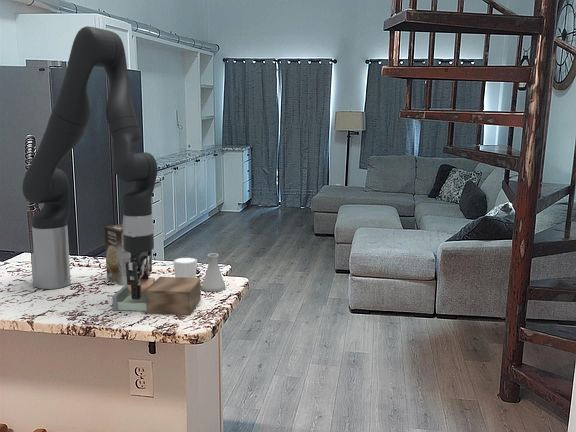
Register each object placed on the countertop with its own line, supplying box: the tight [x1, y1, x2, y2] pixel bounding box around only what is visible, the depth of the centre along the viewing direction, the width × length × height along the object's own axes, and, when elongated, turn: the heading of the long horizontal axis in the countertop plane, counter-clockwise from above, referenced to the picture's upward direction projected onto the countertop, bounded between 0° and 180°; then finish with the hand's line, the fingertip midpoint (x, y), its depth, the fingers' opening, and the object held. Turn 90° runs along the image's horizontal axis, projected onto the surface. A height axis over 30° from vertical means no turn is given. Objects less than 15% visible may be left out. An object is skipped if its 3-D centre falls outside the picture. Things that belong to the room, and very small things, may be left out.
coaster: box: [128, 279, 153, 294], centre depth 149 cm, size 6×6×2 cm
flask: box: [200, 252, 226, 293], centre depth 163 cm, size 7×7×10 cm
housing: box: [146, 276, 202, 316], centre depth 148 cm, size 11×12×6 cm
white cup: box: [172, 257, 198, 278], centre depth 168 cm, size 7×7×7 cm
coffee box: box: [104, 223, 139, 286], centre depth 169 cm, size 9×6×16 cm
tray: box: [112, 284, 147, 312], centre depth 149 cm, size 11×10×4 cm
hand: (140, 294), depth 149 cm, fingers closed on coaster, 6 cm apart
